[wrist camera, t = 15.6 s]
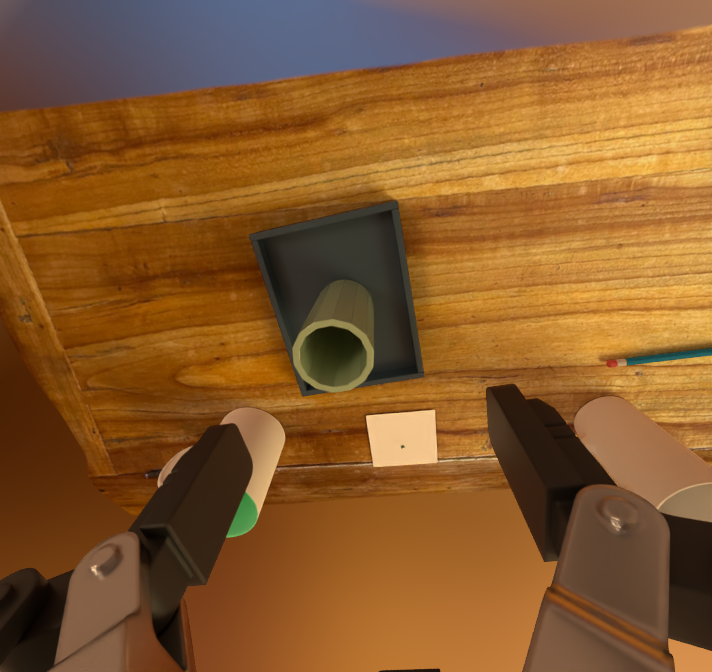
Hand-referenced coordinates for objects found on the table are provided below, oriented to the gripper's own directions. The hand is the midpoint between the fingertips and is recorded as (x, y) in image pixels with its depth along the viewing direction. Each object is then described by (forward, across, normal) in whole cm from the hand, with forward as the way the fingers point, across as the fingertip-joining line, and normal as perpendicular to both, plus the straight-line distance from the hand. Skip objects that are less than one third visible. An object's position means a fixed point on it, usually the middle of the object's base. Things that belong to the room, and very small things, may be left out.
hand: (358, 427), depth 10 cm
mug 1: (+23, +20, +18) cm, 35 cm away
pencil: (+23, -31, +15) cm, 42 cm away
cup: (+22, +3, +3) cm, 23 cm away
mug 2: (+23, -21, +22) cm, 38 cm away
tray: (+23, +3, +3) cm, 24 cm away
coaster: (+23, 0, +21) cm, 31 cm away
